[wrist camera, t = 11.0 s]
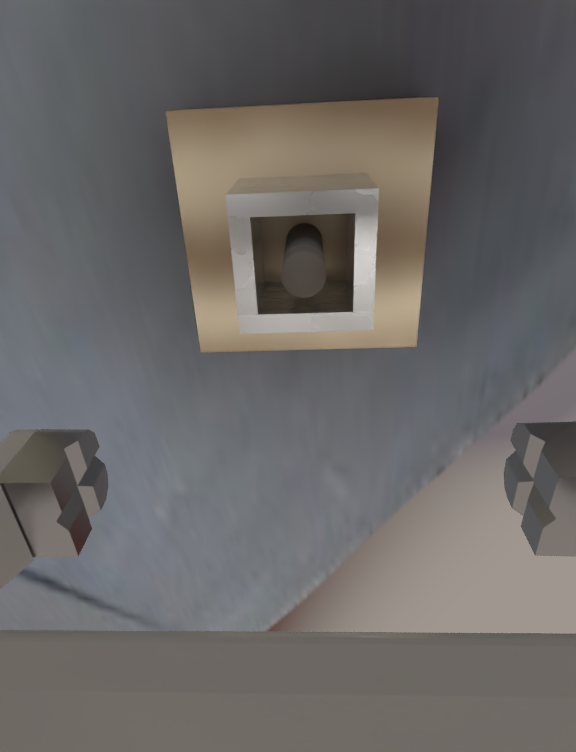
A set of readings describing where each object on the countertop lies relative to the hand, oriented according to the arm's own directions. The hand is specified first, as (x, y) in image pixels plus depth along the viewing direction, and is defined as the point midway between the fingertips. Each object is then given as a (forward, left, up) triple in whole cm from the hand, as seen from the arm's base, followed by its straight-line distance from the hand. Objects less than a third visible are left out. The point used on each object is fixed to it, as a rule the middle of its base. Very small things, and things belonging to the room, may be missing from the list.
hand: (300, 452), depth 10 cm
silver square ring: (0, 0, -17) cm, 17 cm away
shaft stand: (0, 0, -20) cm, 20 cm away
